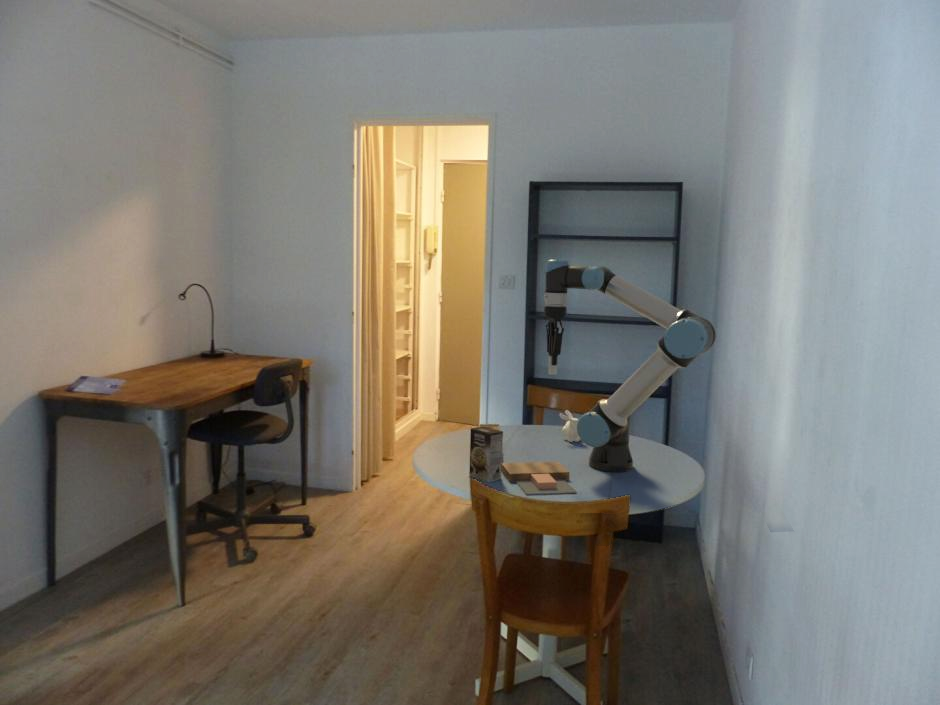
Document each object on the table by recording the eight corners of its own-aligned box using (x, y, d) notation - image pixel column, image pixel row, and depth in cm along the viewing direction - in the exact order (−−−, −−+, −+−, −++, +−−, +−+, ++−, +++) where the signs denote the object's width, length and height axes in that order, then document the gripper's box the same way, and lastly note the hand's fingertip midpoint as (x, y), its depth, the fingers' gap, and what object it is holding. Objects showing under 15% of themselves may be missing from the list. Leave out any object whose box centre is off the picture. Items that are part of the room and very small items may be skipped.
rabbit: (582, 443, 275) (584, 413, 274) (558, 442, 276) (560, 413, 274) (579, 436, 287) (580, 407, 286) (556, 435, 288) (557, 406, 286)
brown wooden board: (557, 469, 239) (558, 461, 239) (569, 479, 227) (569, 472, 227) (501, 470, 236) (501, 463, 235) (509, 481, 224) (509, 473, 224)
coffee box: (468, 476, 228) (469, 428, 226) (482, 472, 233) (483, 425, 231) (488, 483, 222) (489, 433, 220) (502, 479, 226) (503, 430, 224)
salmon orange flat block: (530, 480, 225) (530, 474, 224) (548, 479, 226) (548, 473, 226) (537, 489, 216) (538, 482, 216) (556, 488, 217) (556, 482, 217)
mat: (563, 480, 227) (563, 479, 227) (576, 493, 214) (576, 492, 214) (515, 481, 224) (516, 480, 224) (526, 495, 211) (526, 493, 211)
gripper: (539, 304, 241) (536, 371, 244) (550, 306, 229) (547, 377, 232) (560, 304, 243) (557, 371, 246) (572, 306, 230) (569, 377, 233)
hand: (552, 374), depth 239 cm, fingers closed
